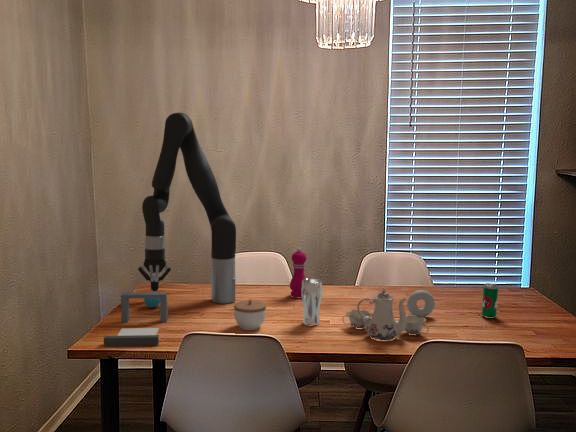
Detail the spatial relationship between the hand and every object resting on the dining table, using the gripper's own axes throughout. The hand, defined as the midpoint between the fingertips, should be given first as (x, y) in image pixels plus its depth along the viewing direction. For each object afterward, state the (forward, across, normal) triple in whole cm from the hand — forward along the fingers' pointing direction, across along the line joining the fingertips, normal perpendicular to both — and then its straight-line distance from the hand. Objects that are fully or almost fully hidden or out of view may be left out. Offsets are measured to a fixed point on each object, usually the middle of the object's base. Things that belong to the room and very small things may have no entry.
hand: (154, 290), depth 212 cm
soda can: (+2, +122, -28) cm, 125 cm away
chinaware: (+3, +79, -44) cm, 90 cm away
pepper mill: (+3, +57, +3) cm, 57 cm away
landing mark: (+4, 0, -39) cm, 39 cm away
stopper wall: (+4, 0, -48) cm, 48 cm away
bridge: (+4, 0, -25) cm, 25 cm away
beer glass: (+3, +57, -31) cm, 65 cm away
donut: (+2, +97, -27) cm, 101 cm away
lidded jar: (+4, +36, -34) cm, 49 cm away
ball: (+1, 0, -9) cm, 9 cm away
